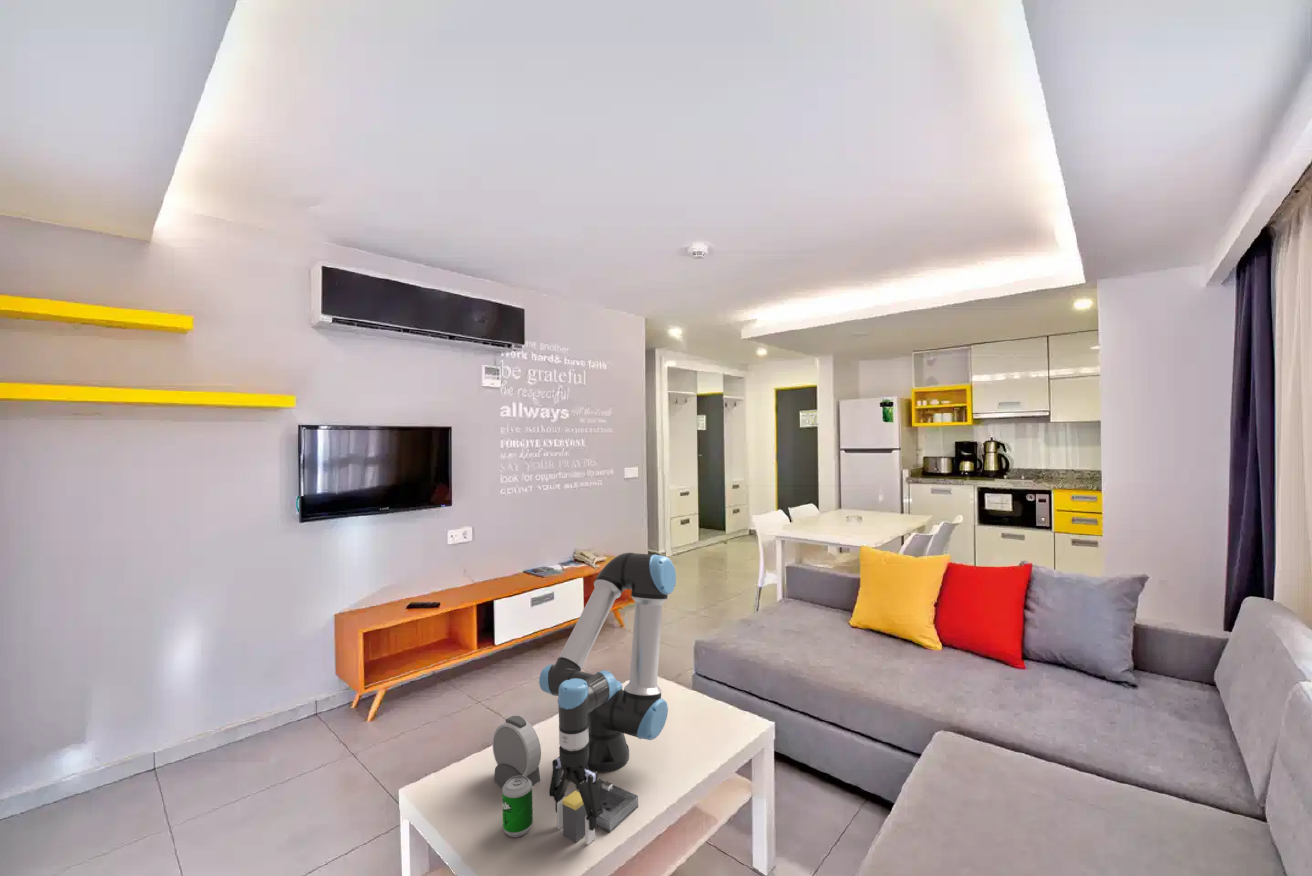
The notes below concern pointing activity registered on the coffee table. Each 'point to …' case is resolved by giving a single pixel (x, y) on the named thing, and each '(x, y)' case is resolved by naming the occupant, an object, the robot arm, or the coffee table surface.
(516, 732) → the alarm clock
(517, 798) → the soda can
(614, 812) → the socket plate
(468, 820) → the coffee table surface
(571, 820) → the plug
